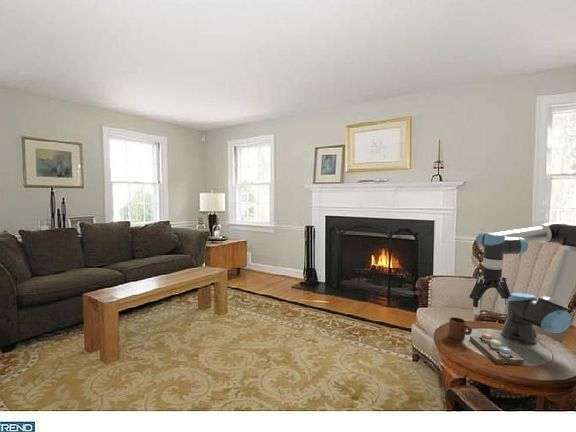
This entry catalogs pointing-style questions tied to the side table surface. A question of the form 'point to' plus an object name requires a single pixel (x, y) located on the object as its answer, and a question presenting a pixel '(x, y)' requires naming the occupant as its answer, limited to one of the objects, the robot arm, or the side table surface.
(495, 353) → the button panel
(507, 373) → the side table surface
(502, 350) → the blue button
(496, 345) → the sage button
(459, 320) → the mug
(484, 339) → the terracotta button
